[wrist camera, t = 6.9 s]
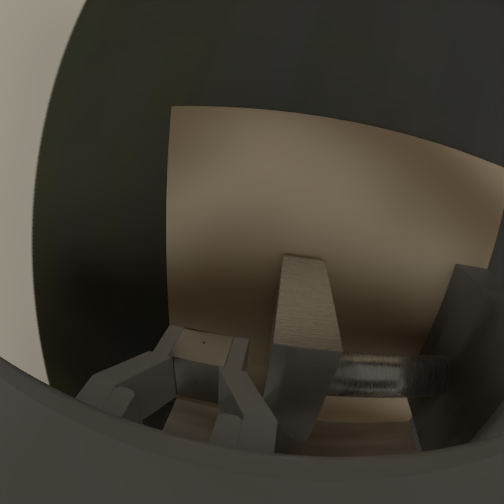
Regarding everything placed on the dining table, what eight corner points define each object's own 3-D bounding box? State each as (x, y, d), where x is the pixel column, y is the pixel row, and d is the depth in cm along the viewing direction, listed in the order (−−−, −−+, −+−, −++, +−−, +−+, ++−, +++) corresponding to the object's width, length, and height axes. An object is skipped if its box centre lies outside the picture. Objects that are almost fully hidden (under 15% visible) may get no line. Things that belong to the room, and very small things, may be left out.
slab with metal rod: (382, 413, 13) (395, 490, 8) (258, 405, 14) (243, 488, 9) (446, 277, 10) (508, 354, 5) (283, 255, 11) (273, 343, 6)
